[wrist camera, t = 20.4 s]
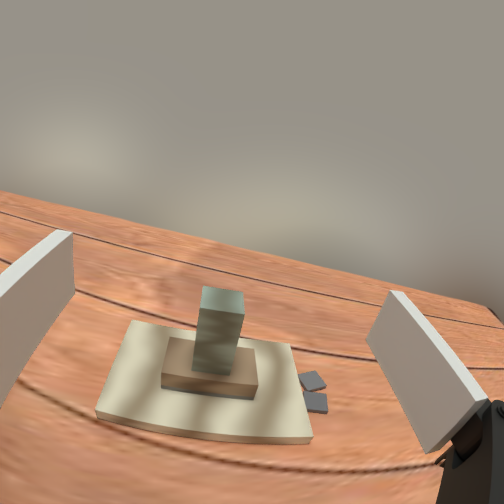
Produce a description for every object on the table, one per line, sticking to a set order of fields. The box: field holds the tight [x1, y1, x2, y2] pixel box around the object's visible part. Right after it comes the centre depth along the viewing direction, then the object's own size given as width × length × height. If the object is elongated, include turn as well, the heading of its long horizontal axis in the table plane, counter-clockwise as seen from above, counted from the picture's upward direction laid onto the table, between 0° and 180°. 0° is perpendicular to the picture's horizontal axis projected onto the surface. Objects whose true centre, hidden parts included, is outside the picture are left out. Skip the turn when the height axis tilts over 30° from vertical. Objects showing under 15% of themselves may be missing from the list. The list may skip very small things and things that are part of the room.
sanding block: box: [161, 286, 259, 400], centre depth 30 cm, size 10×6×11 cm, turn 94°
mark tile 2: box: [298, 371, 327, 392], centre depth 36 cm, size 3×3×1 cm
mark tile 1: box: [302, 391, 328, 414], centre depth 32 cm, size 3×3×1 cm
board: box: [95, 320, 314, 444], centre depth 32 cm, size 22×16×2 cm
